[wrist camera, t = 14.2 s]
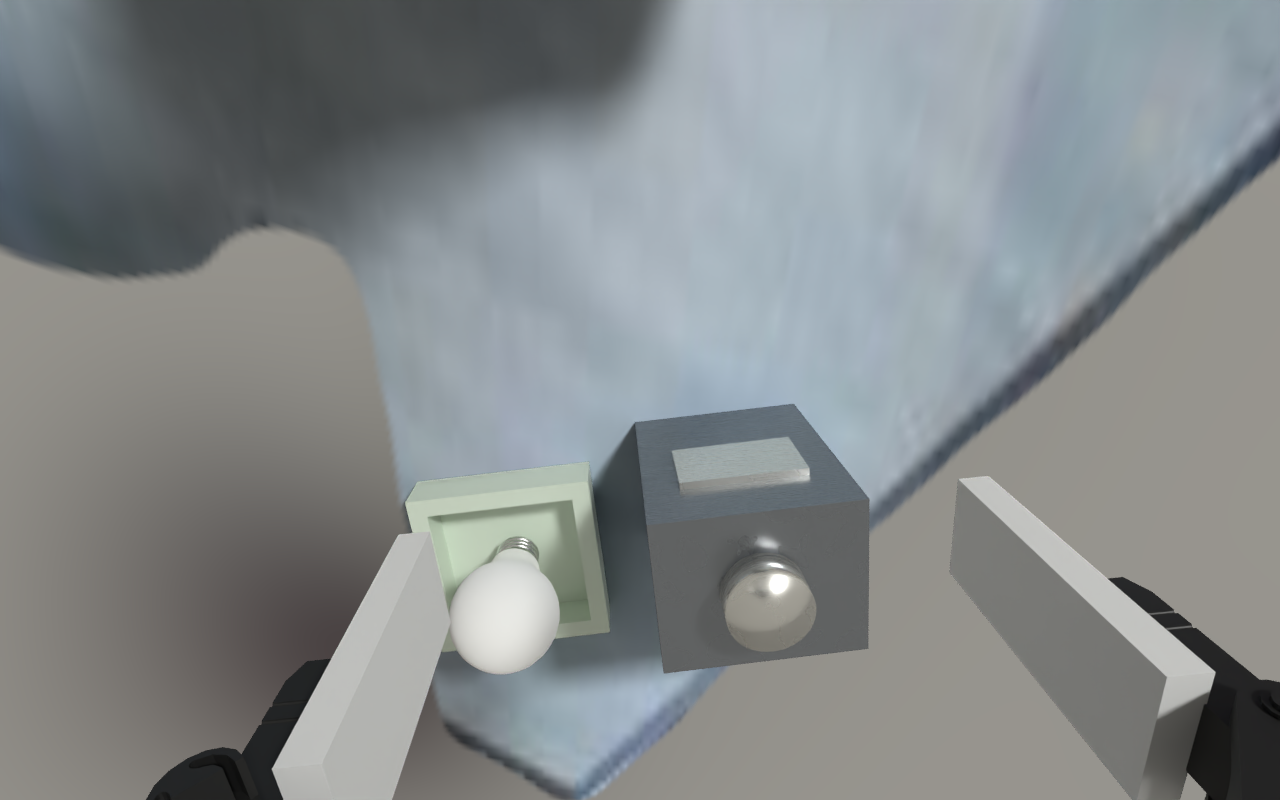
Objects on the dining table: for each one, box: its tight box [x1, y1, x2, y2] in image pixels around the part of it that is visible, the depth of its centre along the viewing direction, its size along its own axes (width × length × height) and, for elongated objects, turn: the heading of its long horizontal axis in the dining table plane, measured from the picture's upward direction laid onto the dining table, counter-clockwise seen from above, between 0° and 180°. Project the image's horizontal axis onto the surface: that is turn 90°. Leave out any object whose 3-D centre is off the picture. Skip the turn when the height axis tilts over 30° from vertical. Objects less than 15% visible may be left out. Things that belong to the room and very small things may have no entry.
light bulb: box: [449, 536, 560, 674], centre depth 43 cm, size 7×7×11 cm
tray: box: [405, 462, 610, 652], centre depth 47 cm, size 12×12×3 cm
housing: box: [635, 404, 869, 673], centre depth 40 cm, size 9×11×16 cm
